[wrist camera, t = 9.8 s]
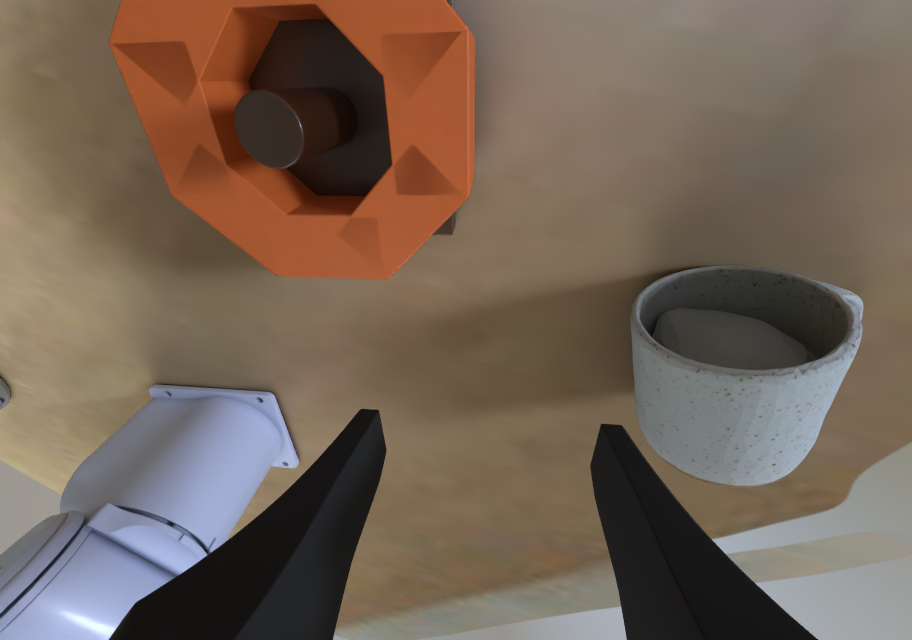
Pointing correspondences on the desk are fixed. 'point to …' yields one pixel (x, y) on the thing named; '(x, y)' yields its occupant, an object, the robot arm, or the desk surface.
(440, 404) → the desk surface
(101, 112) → the desk surface
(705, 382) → the ceramic mug
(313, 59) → the stand
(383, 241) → the ring
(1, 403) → the energy drink
